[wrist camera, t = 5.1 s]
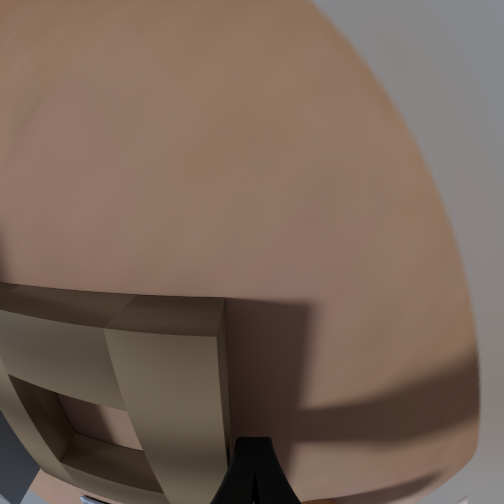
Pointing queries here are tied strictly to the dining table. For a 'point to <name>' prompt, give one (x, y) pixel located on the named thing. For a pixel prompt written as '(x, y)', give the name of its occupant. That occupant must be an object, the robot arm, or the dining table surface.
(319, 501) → the dowel
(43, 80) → the dining table surface
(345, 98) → the dining table surface
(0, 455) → the wall
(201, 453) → the socket block
